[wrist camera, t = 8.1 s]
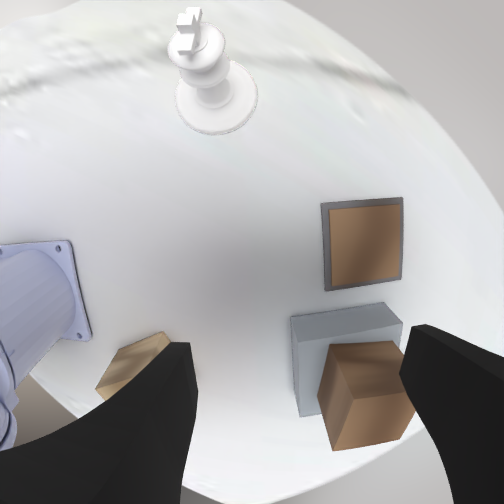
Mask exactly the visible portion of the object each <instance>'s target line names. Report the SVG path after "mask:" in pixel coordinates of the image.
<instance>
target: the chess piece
mask: <svg viewBox="0 0 504 504" xmlns="http://www.w3.org/2000/svg"><path fill="white" fill-rule="evenodd" d="M201 17H202V11H201V7H187V9H186V13H181V14H179V16H178V20H177V24H176V26H177V28H178V30H177V31H176V32H175V33H174V34H173V36H172V37H171V39H170V41H169V44H168V55H169V58H170V59H171V61H172V62H173V63H174V64H175V65H176V66H178V67H180V75H181V78H180V80H179V82H178V84H177V87H176V91H175V104H176V108H177V111H178V113H179V115H180V117H181V119H182V120H183V121H184V122H185V123H186V124H187V125H188V126H189V127H190V128H192V129H193V130H195V131H197V132H200V133H203V134H208V135H220V134H225V133H229V132H232V131H234V130H236V129H238V128H239V127H241V126H242V125H243V124H245V123H246V122H247V121H248V119H249V118H250V117H251V116H252V114H253V112H254V110H255V108H256V105H257V99H258V92H257V86H256V83H255V81H254V79H253V77H252V75H251V74H250V72H249V71H248V70H247V69H246V68H245V67H243V66H242V65H241V64H239V63H237V62H235V61H232V60H229V57H228V56H227V54H226V53H225V52H224V49H225V38H224V35H223V33H222V32H221V31H220V30H219V29H218V28H217V27H216V26H214V25H212V24H209V23H204V22H200V21H201Z"/></svg>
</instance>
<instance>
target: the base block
mask: <svg viewBox="0 0 504 504" xmlns="http://www.w3.org/2000/svg"><path fill="white" fill-rule="evenodd" d="M402 327H403V322H402V321H401V320H400V319H399V318H398V317H397V316H396V315H395V314H394V313H393V312H392V310H391V309H390V308H389V307H388V306H387V305H386V304H385V303H384V302H382V303H377V304H371V305H365V306H360V307H354V308H348V309H342V310H335V311H329V312H322V313H315V314H308V315H301V316H294V317H291V334H292V353H293V375H294V392H295V397H296V402H297V406H298V411H299V416H300V417H307V416H313V415H319V414H322V413H321V409H320V406H319V402H318V399H317V393H318V390H319V386H320V382H321V378H322V374H323V370H324V366H325V361H326V357H327V353H328V348H329V344H342V343H363V342H379V341H392V340H393V342H394V343H395V344H396V345H397V347H398V348H399V345H400V339H401V333H402Z"/></svg>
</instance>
